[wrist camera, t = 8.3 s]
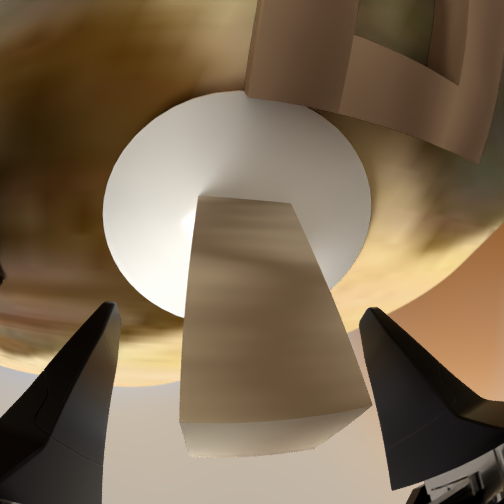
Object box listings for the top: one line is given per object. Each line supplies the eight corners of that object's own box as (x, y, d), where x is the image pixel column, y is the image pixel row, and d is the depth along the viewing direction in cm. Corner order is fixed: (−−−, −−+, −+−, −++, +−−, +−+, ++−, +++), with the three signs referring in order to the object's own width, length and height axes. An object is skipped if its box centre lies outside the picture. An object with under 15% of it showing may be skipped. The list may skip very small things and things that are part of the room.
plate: (127, 310, 16) (125, 319, 16) (101, 89, 9) (93, 91, 8) (323, 315, 18) (326, 324, 18) (394, 123, 11) (404, 127, 10)
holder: (243, 92, 10) (249, 97, 8) (279, -105, 3) (292, -129, 1) (448, 147, 11) (478, 164, 9) (473, -14, 5) (504, -13, 3)
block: (195, 268, 14) (189, 456, 7) (198, 195, 11) (179, 421, 4) (273, 272, 14) (313, 448, 7) (290, 203, 12) (372, 405, 5)
